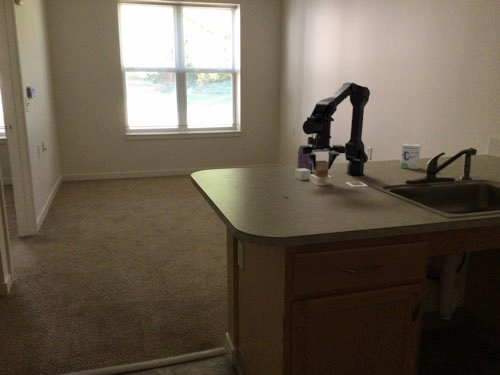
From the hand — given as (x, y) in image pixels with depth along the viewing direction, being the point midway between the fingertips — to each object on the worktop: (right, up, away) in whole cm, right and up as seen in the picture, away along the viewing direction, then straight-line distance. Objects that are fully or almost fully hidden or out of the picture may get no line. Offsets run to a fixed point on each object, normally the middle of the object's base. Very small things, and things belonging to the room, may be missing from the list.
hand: (321, 169), depth 188 cm
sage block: (-7, -4, +10) cm, 12 cm away
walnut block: (0, -2, +1) cm, 3 cm away
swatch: (+15, -6, -1) cm, 16 cm away
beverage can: (-4, 0, +22) cm, 23 cm away
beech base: (0, -6, +2) cm, 6 cm away
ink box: (+50, +2, +37) cm, 62 cm away
